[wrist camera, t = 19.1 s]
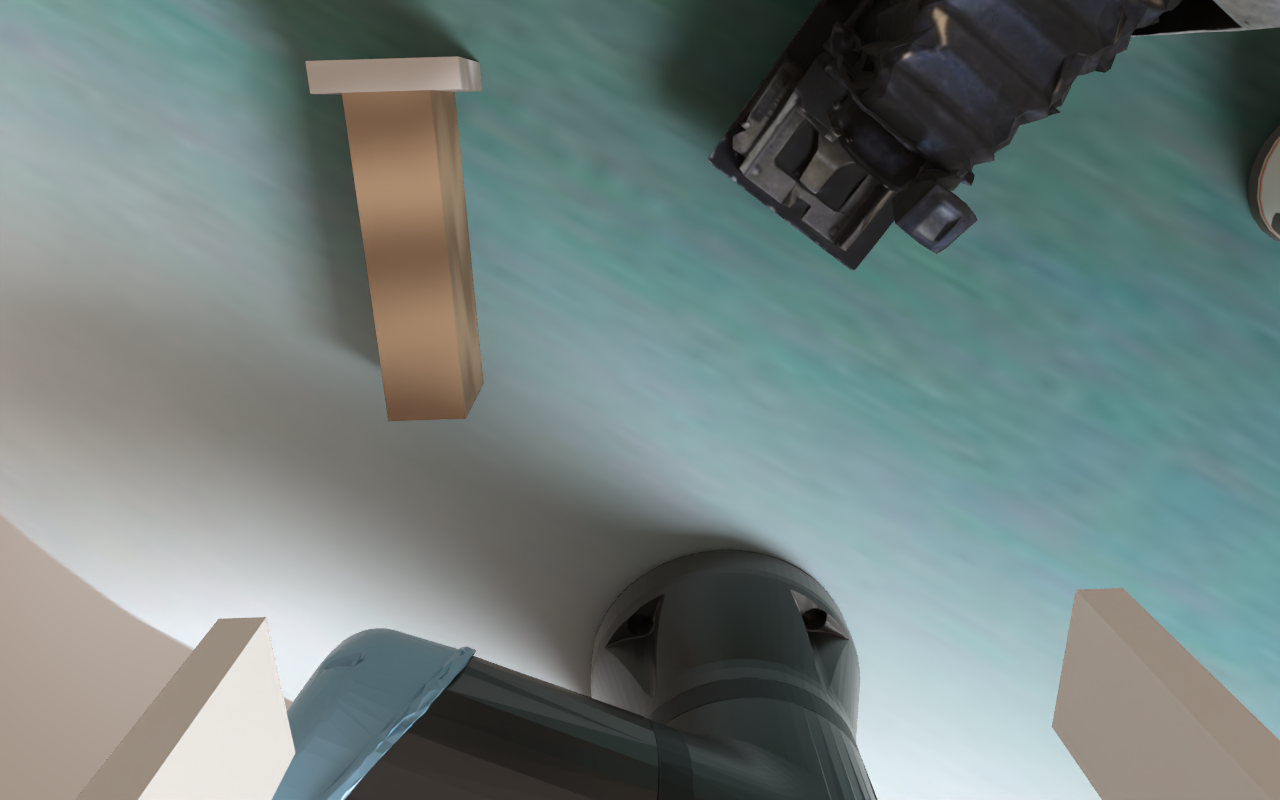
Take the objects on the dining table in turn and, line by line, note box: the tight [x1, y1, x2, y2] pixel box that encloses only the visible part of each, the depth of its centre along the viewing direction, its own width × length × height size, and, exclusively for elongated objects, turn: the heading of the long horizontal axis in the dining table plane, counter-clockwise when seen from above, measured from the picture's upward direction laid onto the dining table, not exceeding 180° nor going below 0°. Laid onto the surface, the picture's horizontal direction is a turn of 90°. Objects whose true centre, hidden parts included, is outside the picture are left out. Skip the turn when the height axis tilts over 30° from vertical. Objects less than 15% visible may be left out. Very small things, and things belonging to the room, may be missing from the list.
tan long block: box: [305, 56, 483, 421], centre depth 37 cm, size 15×6×5 cm, turn 1°
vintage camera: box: [708, 0, 1280, 271], centre depth 28 cm, size 10×16×20 cm, turn 144°
